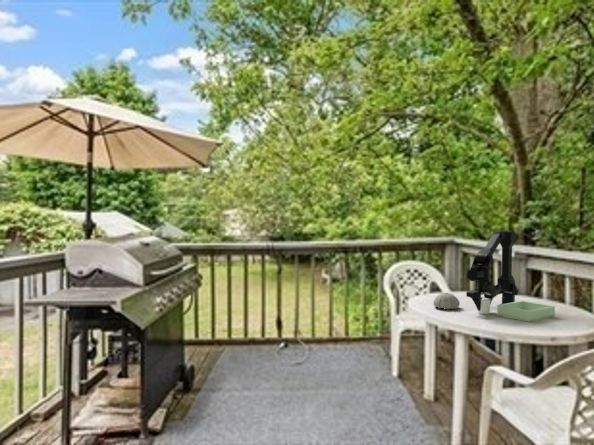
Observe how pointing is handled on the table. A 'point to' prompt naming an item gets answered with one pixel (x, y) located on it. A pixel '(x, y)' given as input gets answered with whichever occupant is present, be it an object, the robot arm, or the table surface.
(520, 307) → the bin
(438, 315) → the table surface
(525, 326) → the table surface
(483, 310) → the shot glass
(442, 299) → the sea urchin shell
